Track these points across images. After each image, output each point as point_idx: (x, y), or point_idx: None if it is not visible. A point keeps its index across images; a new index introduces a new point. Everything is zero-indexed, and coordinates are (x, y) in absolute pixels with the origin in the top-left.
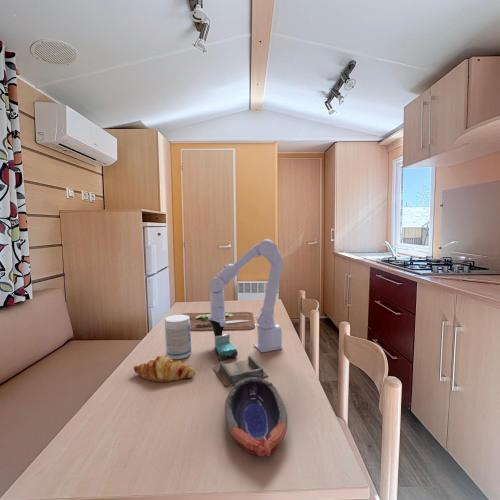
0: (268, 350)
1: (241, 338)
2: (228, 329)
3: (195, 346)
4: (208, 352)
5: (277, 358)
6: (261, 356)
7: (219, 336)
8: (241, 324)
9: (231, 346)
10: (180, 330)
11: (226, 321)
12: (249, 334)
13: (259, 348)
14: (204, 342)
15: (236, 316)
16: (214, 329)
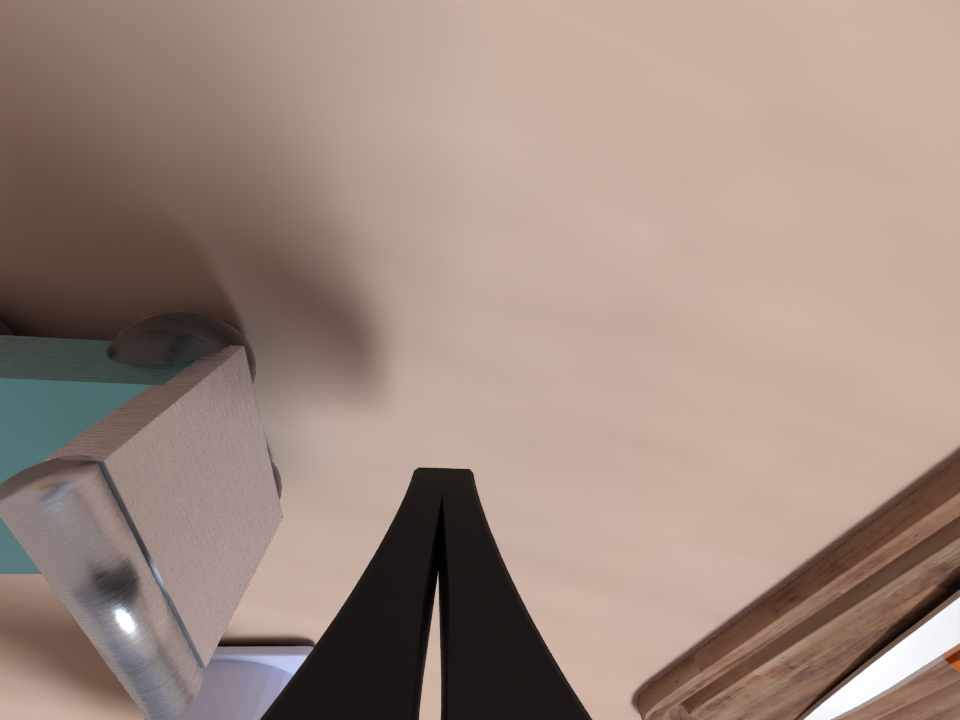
0: None
1: None
2: (774, 608)
3: (624, 115)
4: (289, 236)
5: (21, 677)
6: (69, 623)
7: (51, 584)
8: (767, 695)
9: (15, 549)
10: None
11: (939, 651)
12: None
13: None
14: (670, 307)
15: (948, 710)
16: (326, 675)
